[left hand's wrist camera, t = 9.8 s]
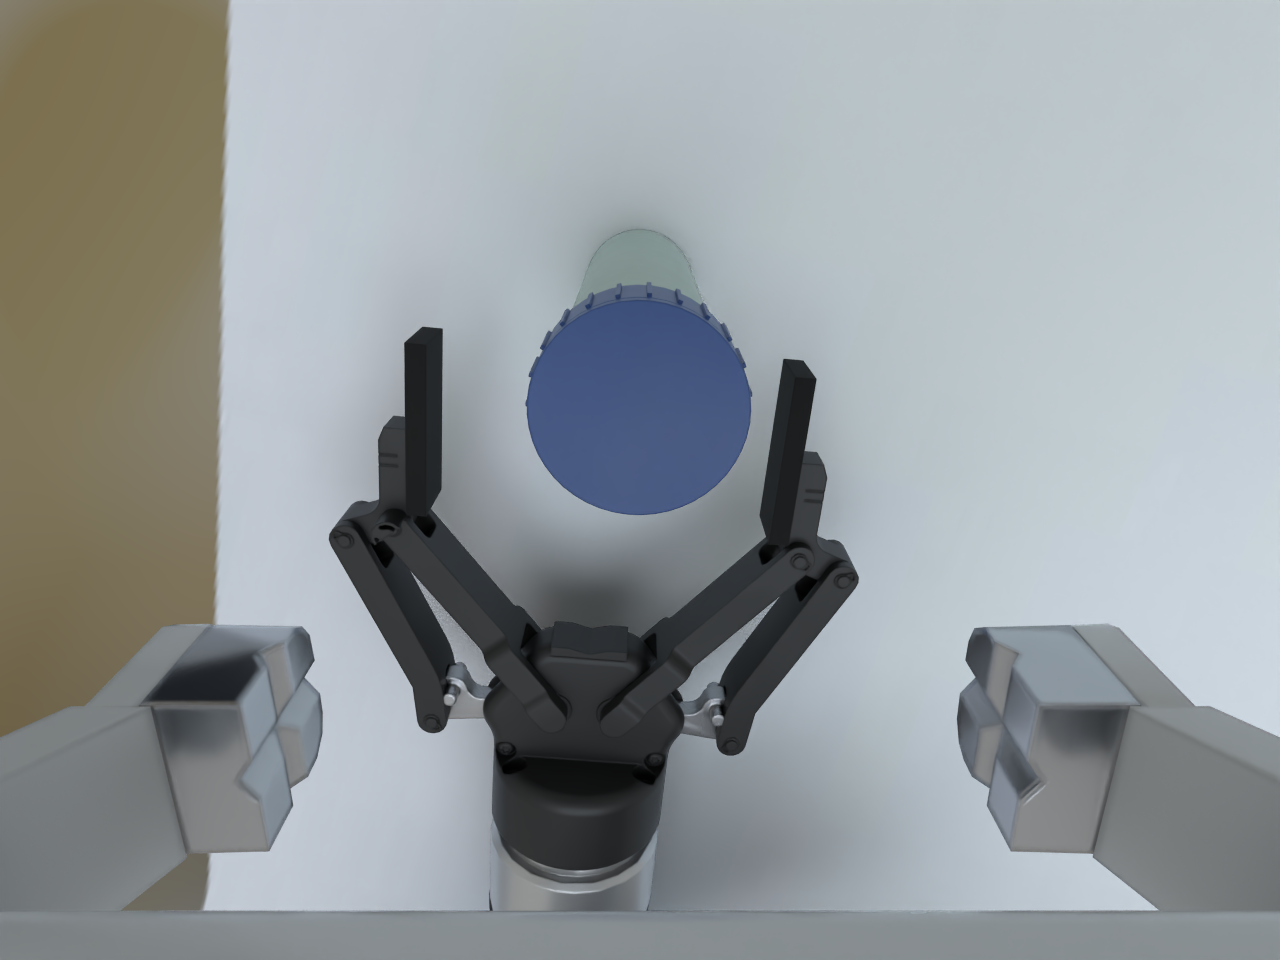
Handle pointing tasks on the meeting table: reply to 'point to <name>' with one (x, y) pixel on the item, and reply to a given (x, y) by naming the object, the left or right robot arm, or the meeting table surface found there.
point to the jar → (639, 265)
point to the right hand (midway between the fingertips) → (613, 350)
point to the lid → (638, 400)
